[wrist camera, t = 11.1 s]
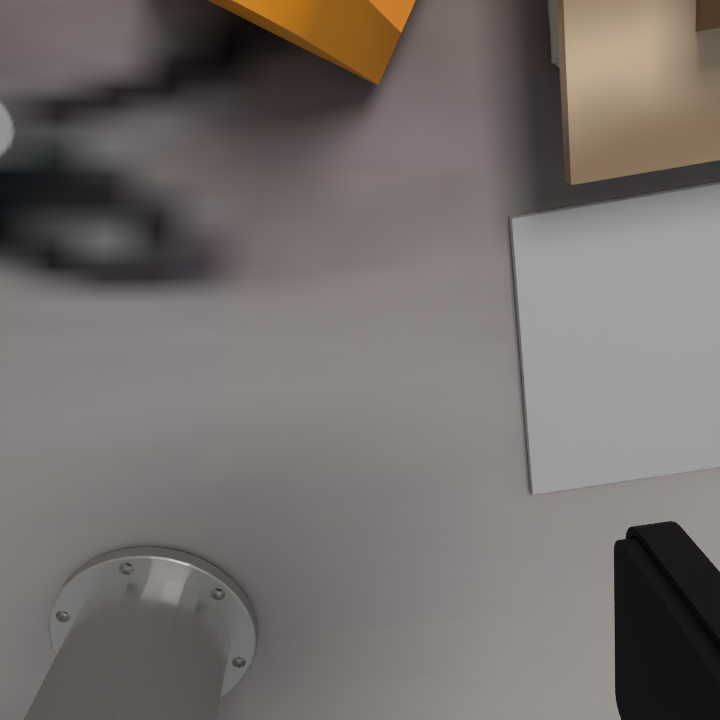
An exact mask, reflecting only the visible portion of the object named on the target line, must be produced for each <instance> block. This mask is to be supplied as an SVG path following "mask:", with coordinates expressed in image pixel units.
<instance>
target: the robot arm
mask: <svg viewBox="0 0 720 720" xmlns="http://www.w3.org/2000/svg"><path fill="white" fill-rule="evenodd" d="M614 599H615V694H616V702H617V707H618V711H619V714H620V717H621V720H720V572H719V571H718V569H717V568H716V567H715V566H714V565H713V564H712V562H711V561H710V560H709V559H708V558H707V557H706V556H705V554H704V553H703V552H702V551H701V550H700V549H699V547H698V546H697V545H696V544H695V543H694V542H693V540H692V539H691V538H690V537H689V536H688V535H687V534H686V532H685V531H684V530H683V529H682V528H681V527H680V526H679V525H678V524H677V523H676V522H672V521H669V522H662V523H655V524H648V525H641V526H634V527H630V528H629V529H628V530H627V533H626V539H623V540H618V541H616V542H615V545H614ZM49 635H50V640H51V646H52V648H53V650H54V653H55V655H56V658H55V659H54V661H53V663H52V665H51V667H50V669H49V671H48V673H47V675H46V677H45V679H44V681H43V683H42V685H41V687H40V689H39V691H38V693H37V695H36V697H35V699H34V701H33V703H32V705H31V707H30V709H29V711H28V713H27V714H26V716H25V718H24V720H216V715H217V710H218V705H219V700H220V698H221V697H223V696H224V695H226V694H227V693H229V692H230V691H231V690H232V689H233V688H234V687H235V686H236V685H238V684H239V683H240V682H241V681H242V679H243V678H244V676H245V674H246V673H247V671H248V670H249V668H250V666H251V663H252V660H253V657H254V654H255V648H256V641H257V622H256V619H255V615H254V612H253V608H252V606H251V604H250V602H249V601H248V599H247V597H246V595H245V593H244V592H243V591H242V590H241V589H240V587H239V586H238V585H237V584H236V583H235V582H234V580H233V579H231V578H230V577H229V576H228V575H226V574H225V573H224V572H223V571H221V570H220V569H219V568H217V567H215V566H214V565H212V564H210V563H208V562H207V561H205V560H203V559H201V558H198V557H195V556H193V555H190V554H187V553H185V552H181V551H176V550H171V549H166V548H156V547H136V548H127V549H121V550H117V551H114V552H110V553H106V554H103V555H101V556H99V557H97V558H95V559H93V560H91V561H89V562H87V563H86V564H85V565H83V566H82V567H81V568H79V569H78V570H77V571H75V572H74V573H73V574H72V576H71V577H70V578H69V579H68V580H67V582H66V583H65V584H64V585H63V587H62V589H61V591H60V593H59V594H58V596H57V598H56V599H55V601H54V604H53V607H52V609H51V612H50V618H49Z"/></svg>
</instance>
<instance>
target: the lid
mask: <svg viewBox="0 0 720 720" xmlns="http://www.w3.org/2000/svg"><path fill="white" fill-rule="evenodd" d="M557 20H558V42H559V64H560V86H561V108H562V129H563V151H564V173H565V183H567V184H570V185H575V184H581V183H587V182H593V181H599V180H605V179H611V178H617V177H623V176H628V175H634V174H640V173H646V172H652V171H658V170H664V169H670V168H676V167H682V166H688V165H693V164H699V163H705V162H711V161H717V160H720V0H557Z"/></svg>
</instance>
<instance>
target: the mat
mask: <svg viewBox="0 0 720 720" xmlns="http://www.w3.org/2000/svg"><path fill="white" fill-rule="evenodd" d="M509 223H510V235H511V248H512V261H513V274H514V287H515V300H516V313H517V325H518V338H519V351H520V364H521V377H522V390H523V403H524V415H525V428H526V441H527V454H528V467H529V480H530V490H531V492H532V494H533V495H535V494H542V493H548V492H555V491H562V490H568V489H575V488H582V487H589V486H595V485H602V484H609V483H615V482H622V481H629V480H635V479H642V478H649V477H655V476H662V475H669V474H675V473H682V472H689V471H695V470H702V469H709V468H716V467H720V181H719V182H713V183H707V184H701V185H695V186H689V187H683V188H677V189H671V190H665V191H659V192H653V193H647V194H641V195H635V196H629V197H623V198H617V199H611V200H605V201H599V202H593V203H587V204H581V205H575V206H569V207H563V208H557V209H552V210H546V211H540V212H534V213H528V214H522V215H516V216H510V217H509Z"/></svg>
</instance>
